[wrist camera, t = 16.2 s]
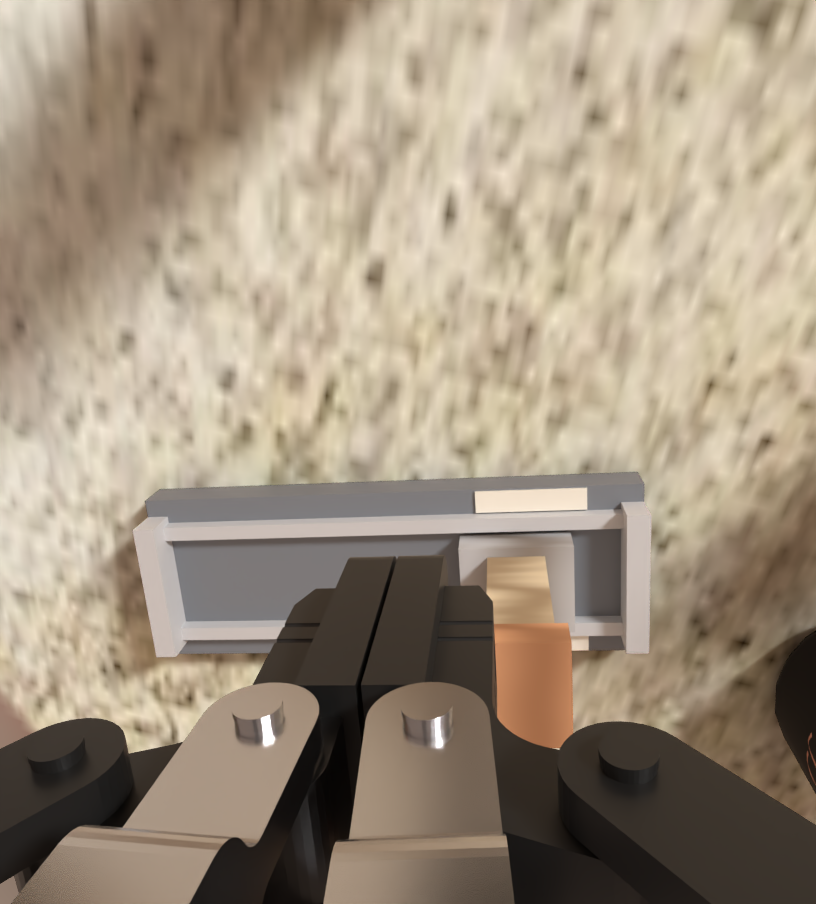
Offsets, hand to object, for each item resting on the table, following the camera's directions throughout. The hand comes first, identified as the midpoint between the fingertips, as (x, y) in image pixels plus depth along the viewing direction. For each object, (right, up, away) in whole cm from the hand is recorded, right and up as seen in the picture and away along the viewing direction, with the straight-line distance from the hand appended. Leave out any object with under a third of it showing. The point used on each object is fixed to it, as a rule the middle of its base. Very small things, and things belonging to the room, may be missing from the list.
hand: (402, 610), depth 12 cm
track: (-1, -4, +34) cm, 34 cm away
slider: (+6, -4, +31) cm, 32 cm away
